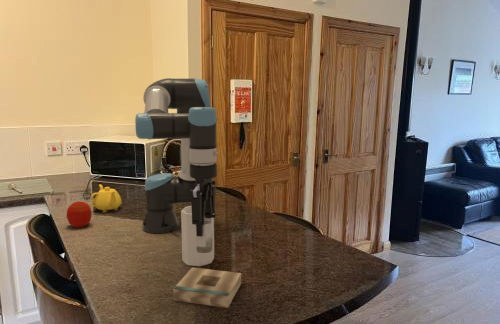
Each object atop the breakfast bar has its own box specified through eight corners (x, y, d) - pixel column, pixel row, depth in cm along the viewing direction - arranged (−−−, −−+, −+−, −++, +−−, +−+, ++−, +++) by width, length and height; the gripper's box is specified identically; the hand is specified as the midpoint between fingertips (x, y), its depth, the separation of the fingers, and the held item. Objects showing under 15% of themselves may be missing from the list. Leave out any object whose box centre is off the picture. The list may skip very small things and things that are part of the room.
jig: (173, 300, 108) (173, 287, 107) (192, 277, 121) (192, 266, 121) (227, 307, 104) (227, 295, 104) (241, 283, 118) (241, 272, 117)
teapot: (84, 207, 195) (83, 186, 193) (113, 202, 204) (112, 181, 202) (98, 217, 180) (96, 193, 178) (128, 211, 189) (127, 189, 187)
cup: (200, 269, 127) (199, 216, 124) (175, 261, 133) (174, 210, 130) (220, 257, 136) (220, 208, 133) (196, 251, 142) (195, 203, 139)
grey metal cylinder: (193, 251, 109) (193, 225, 108) (200, 246, 113) (200, 220, 112) (208, 253, 108) (208, 226, 106) (214, 247, 112) (214, 221, 111)
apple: (96, 225, 168) (94, 200, 166) (73, 231, 161) (71, 205, 159) (86, 220, 175) (84, 196, 173) (63, 225, 168) (61, 200, 166)
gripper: (204, 169, 97) (205, 256, 101) (225, 158, 114) (226, 233, 118) (177, 167, 99) (179, 253, 103) (202, 157, 116) (203, 231, 120)
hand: (204, 242), depth 110 cm, fingers closed on grey metal cylinder, 4 cm apart
